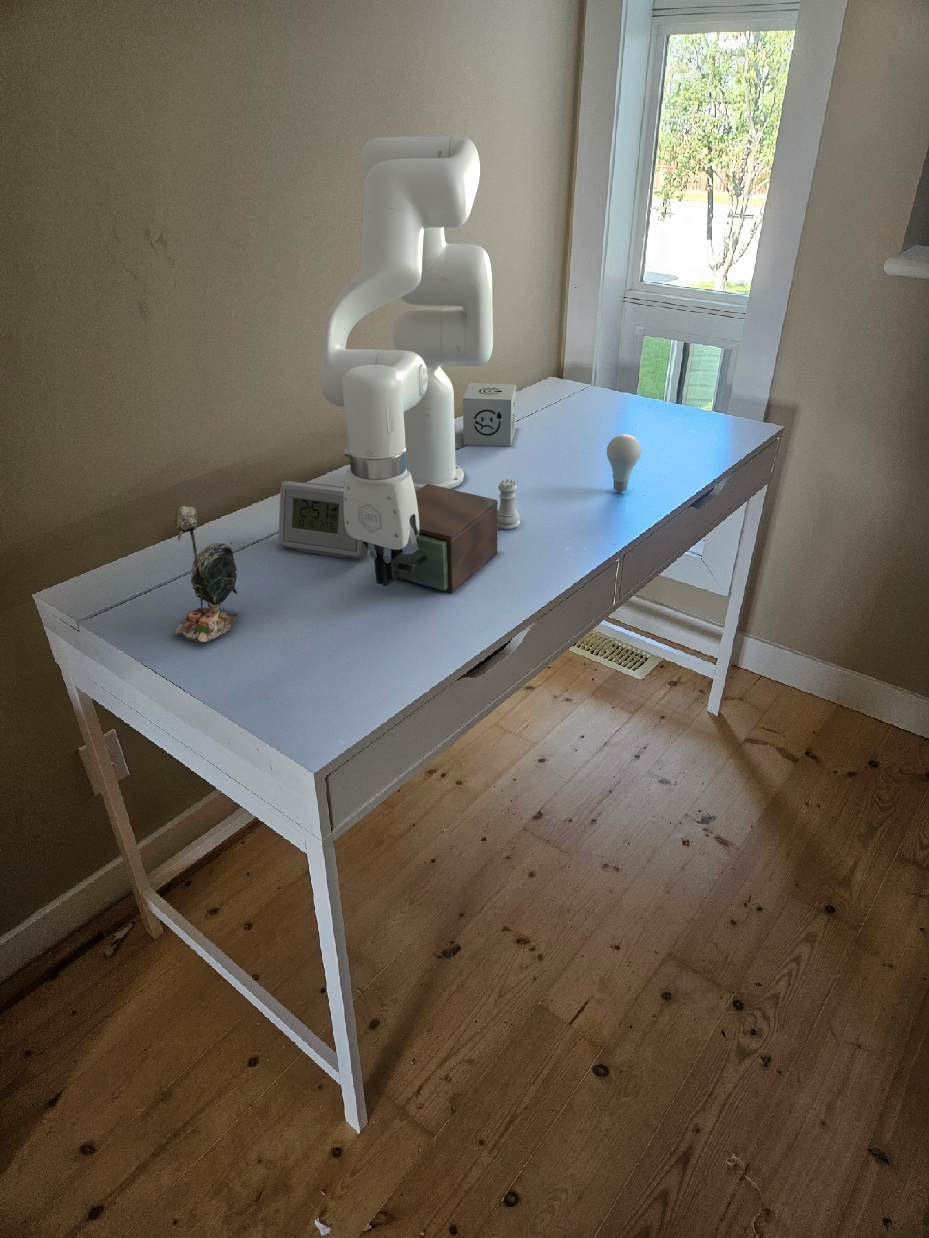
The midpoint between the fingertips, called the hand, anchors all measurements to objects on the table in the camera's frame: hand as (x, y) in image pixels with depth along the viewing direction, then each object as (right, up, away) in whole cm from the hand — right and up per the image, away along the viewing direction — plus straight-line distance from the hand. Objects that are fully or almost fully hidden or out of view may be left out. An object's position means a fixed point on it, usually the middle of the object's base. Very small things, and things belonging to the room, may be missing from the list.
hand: (387, 580), depth 120 cm
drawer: (+5, +2, +9) cm, 11 cm away
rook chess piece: (+19, +11, +23) cm, 32 cm away
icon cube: (+17, +34, +58) cm, 69 cm away
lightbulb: (+40, +18, +34) cm, 56 cm away
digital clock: (-12, +6, +17) cm, 22 cm away
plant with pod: (-25, -6, -1) cm, 26 cm away
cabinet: (+7, +3, +12) cm, 15 cm away
